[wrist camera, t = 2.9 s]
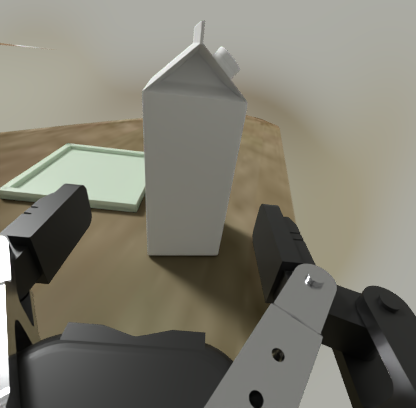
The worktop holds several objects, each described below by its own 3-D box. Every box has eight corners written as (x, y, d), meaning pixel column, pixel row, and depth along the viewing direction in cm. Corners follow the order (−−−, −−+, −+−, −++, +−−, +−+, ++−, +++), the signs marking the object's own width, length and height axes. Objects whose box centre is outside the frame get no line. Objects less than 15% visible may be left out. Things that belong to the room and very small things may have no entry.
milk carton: (147, 257, 23) (138, 9, 13) (153, 214, 29) (150, 20, 18) (217, 257, 24) (263, 29, 14) (210, 215, 30) (237, 33, 20)
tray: (0, 198, 28) (-3, 189, 27) (69, 149, 41) (67, 143, 41) (136, 212, 29) (135, 204, 28) (160, 160, 42) (160, 154, 41)
